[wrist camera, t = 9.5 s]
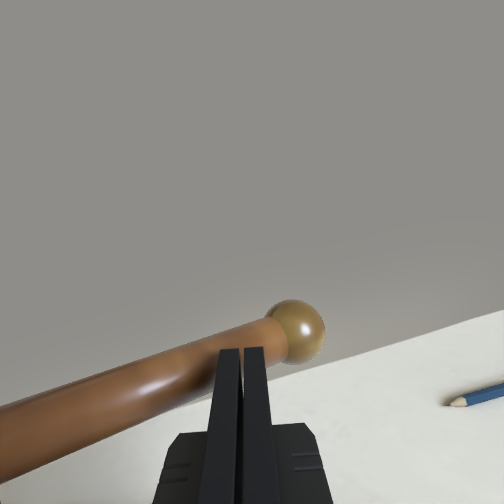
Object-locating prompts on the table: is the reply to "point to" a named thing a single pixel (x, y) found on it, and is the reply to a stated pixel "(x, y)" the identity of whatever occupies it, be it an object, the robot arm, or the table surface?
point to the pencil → (479, 396)
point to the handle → (144, 388)
